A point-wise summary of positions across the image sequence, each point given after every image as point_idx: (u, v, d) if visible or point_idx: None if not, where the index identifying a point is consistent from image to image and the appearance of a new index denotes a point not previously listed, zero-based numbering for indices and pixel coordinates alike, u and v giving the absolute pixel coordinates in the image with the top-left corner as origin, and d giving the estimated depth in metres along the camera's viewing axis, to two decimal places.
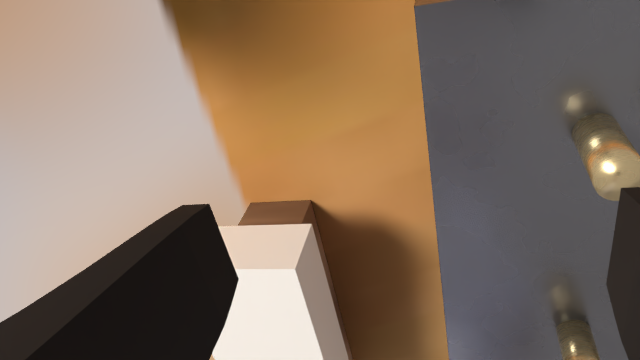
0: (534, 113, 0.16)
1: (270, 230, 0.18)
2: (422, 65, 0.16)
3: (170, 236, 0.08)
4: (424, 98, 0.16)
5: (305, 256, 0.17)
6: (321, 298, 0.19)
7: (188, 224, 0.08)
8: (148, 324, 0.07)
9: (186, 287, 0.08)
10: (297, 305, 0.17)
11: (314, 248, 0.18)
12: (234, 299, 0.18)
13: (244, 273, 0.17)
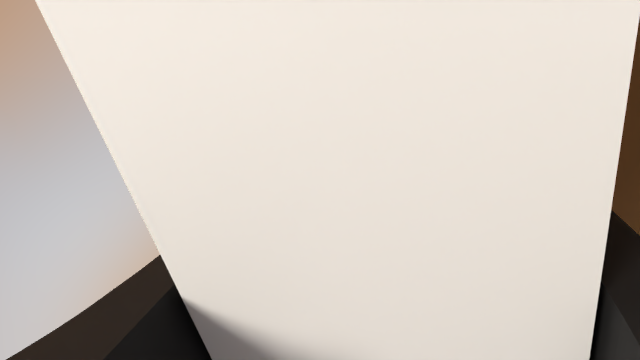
0: None
1: None
2: None
3: None
4: None
5: None
6: None
7: None
8: None
9: None
10: None
11: None
12: None
13: None
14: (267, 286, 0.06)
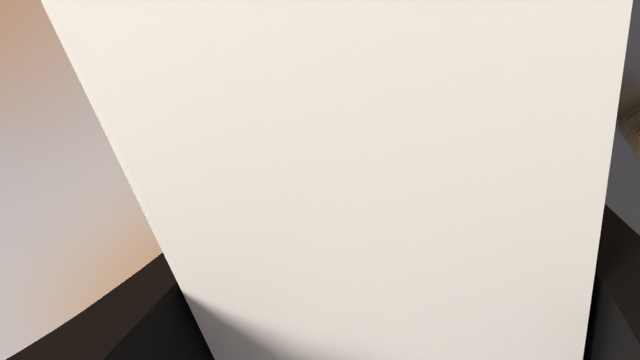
0: None
1: None
2: None
3: None
4: None
5: None
6: None
7: None
8: None
9: None
10: None
11: None
12: None
13: None
14: (266, 276, 0.06)
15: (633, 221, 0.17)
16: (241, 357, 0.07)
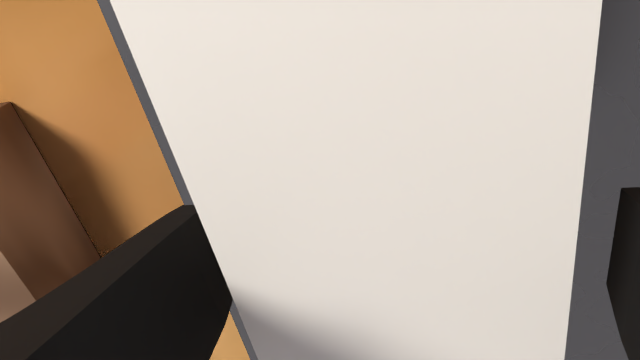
0: None
1: None
2: None
3: (170, 236, 0.08)
4: None
5: None
6: None
7: (188, 224, 0.08)
8: (148, 324, 0.07)
9: (186, 287, 0.08)
10: None
11: None
12: None
13: None
14: (288, 227, 0.07)
15: None
16: (262, 308, 0.08)
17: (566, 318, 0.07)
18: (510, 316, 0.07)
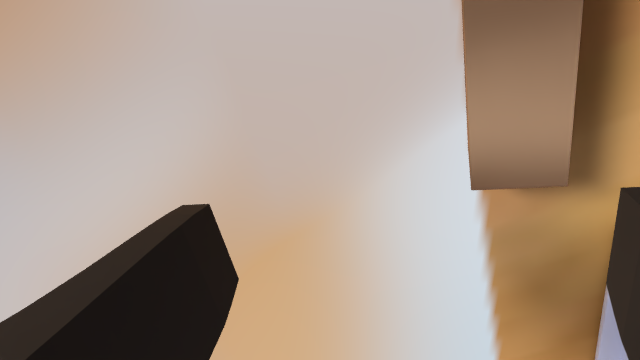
0: None
1: None
2: None
3: (170, 236, 0.08)
4: None
5: None
6: None
7: (188, 224, 0.08)
8: (148, 324, 0.07)
9: (186, 287, 0.08)
10: None
11: None
12: None
13: None
14: None
15: None
16: None
17: None
18: None
